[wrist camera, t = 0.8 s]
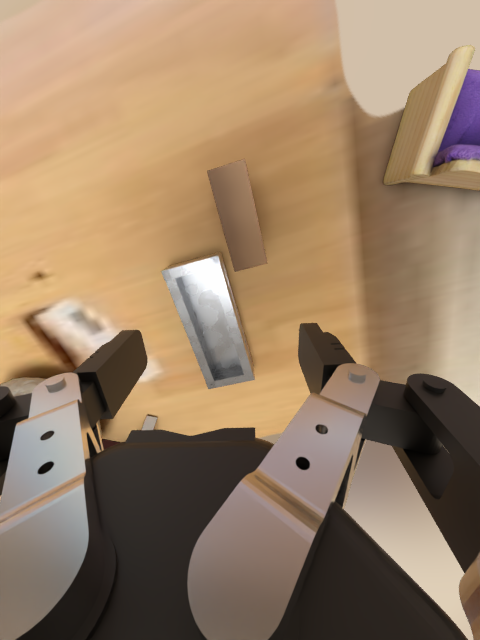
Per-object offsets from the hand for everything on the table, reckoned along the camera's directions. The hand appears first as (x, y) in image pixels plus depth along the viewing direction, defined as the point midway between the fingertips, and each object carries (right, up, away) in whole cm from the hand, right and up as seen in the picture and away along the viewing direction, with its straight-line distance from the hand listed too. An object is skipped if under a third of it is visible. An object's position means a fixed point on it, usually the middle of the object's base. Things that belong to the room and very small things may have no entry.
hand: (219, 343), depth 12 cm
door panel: (+1, +13, +17) cm, 21 cm away
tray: (-3, +1, +22) cm, 22 cm away
